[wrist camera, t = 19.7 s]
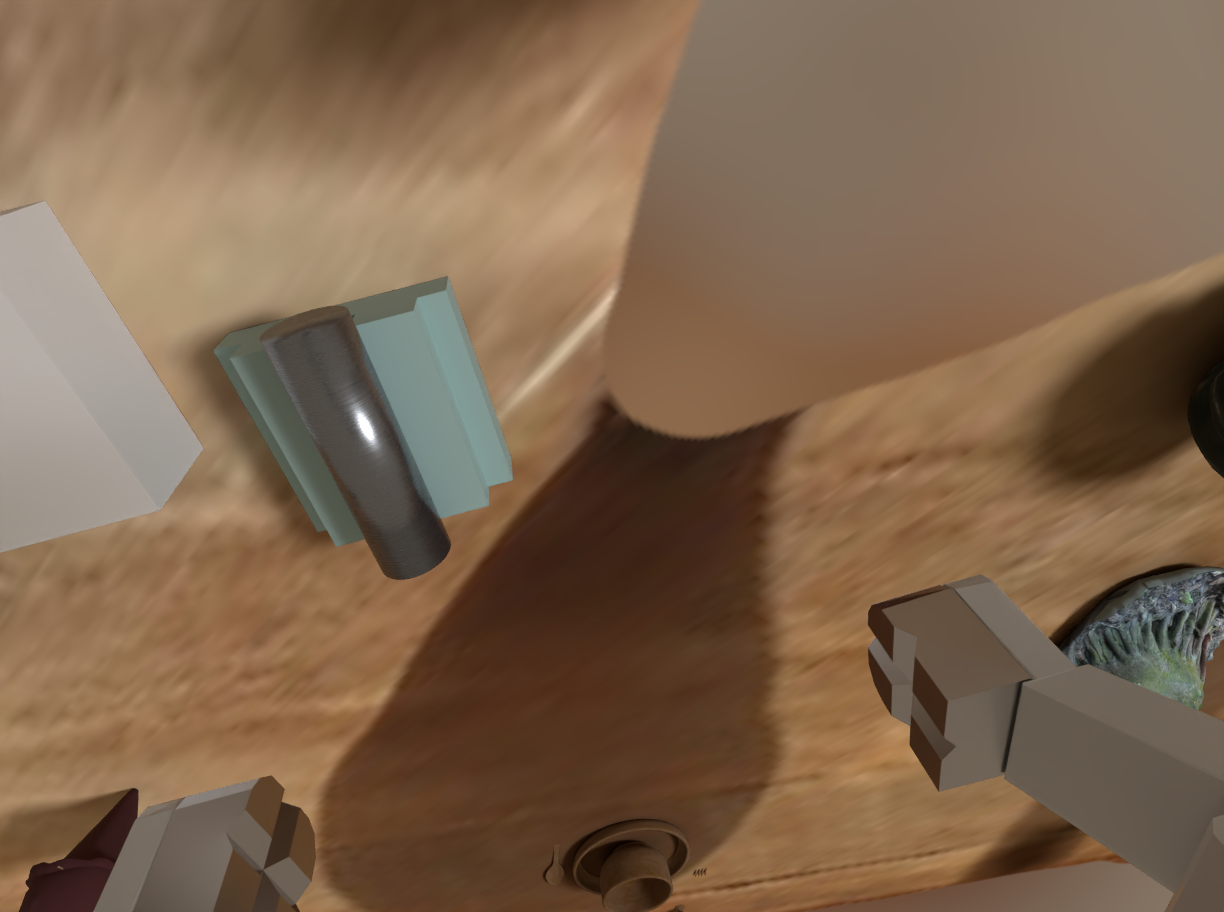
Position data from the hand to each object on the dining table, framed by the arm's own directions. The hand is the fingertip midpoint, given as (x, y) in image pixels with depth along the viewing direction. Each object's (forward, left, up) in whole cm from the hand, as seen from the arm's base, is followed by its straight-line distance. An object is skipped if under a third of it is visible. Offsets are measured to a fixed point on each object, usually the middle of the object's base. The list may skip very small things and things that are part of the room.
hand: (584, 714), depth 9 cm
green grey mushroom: (+50, +47, -34) cm, 76 cm away
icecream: (+34, -40, -31) cm, 61 cm away
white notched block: (+1, -26, -31) cm, 40 cm away
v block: (+8, -10, -31) cm, 34 cm away
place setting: (+66, -7, -32) cm, 74 cm away
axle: (+8, -10, -27) cm, 30 cm away
